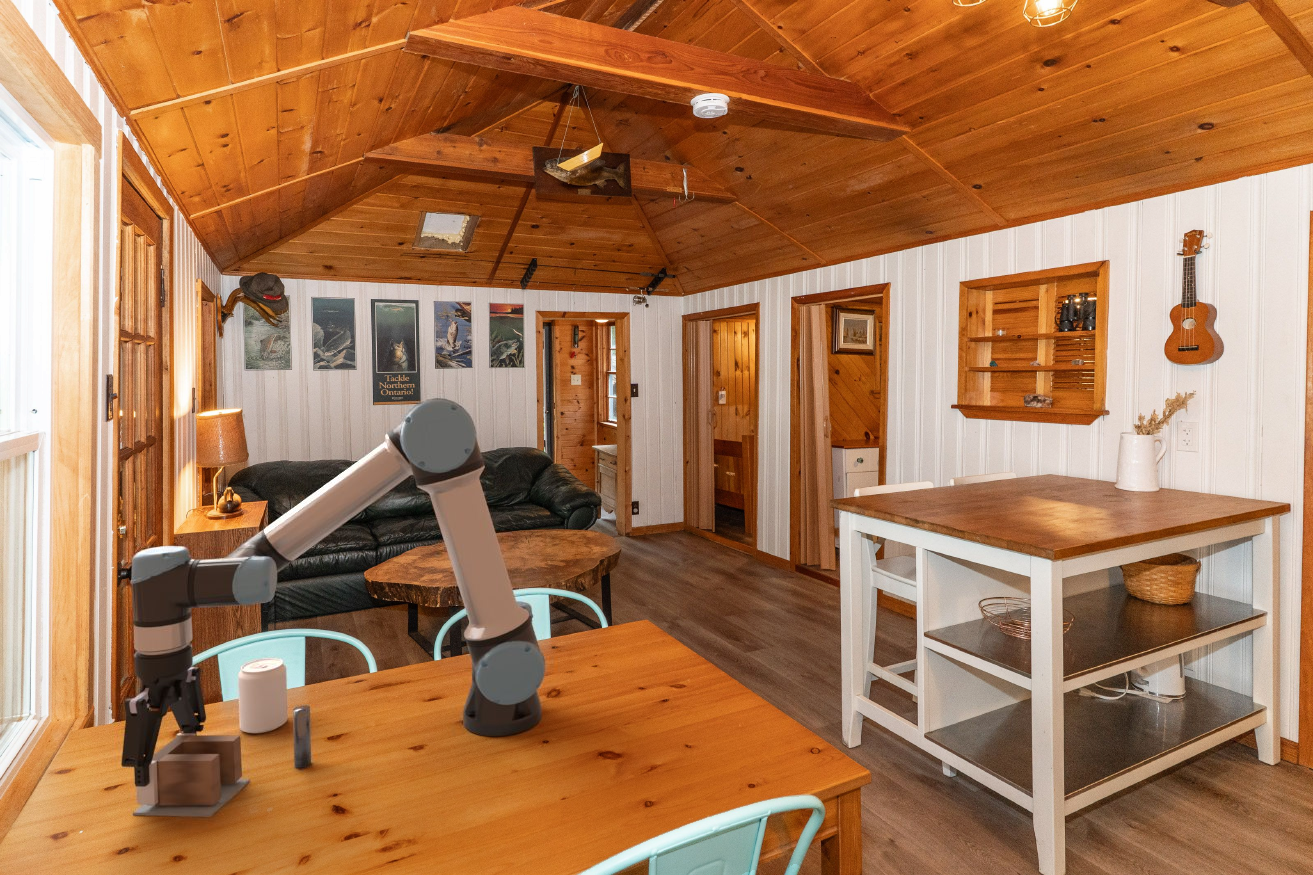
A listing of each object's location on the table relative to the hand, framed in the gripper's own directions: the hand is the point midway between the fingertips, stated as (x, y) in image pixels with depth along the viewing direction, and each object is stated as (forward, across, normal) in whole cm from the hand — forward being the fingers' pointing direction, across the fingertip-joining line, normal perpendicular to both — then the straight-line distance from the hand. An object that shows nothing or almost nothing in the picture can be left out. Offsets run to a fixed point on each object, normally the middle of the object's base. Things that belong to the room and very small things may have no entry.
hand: (168, 787), depth 114 cm
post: (+2, -10, +16) cm, 19 cm away
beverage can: (+2, -24, +1) cm, 25 cm away
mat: (+2, 0, +4) cm, 4 cm away
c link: (+1, 0, +4) cm, 4 cm away
